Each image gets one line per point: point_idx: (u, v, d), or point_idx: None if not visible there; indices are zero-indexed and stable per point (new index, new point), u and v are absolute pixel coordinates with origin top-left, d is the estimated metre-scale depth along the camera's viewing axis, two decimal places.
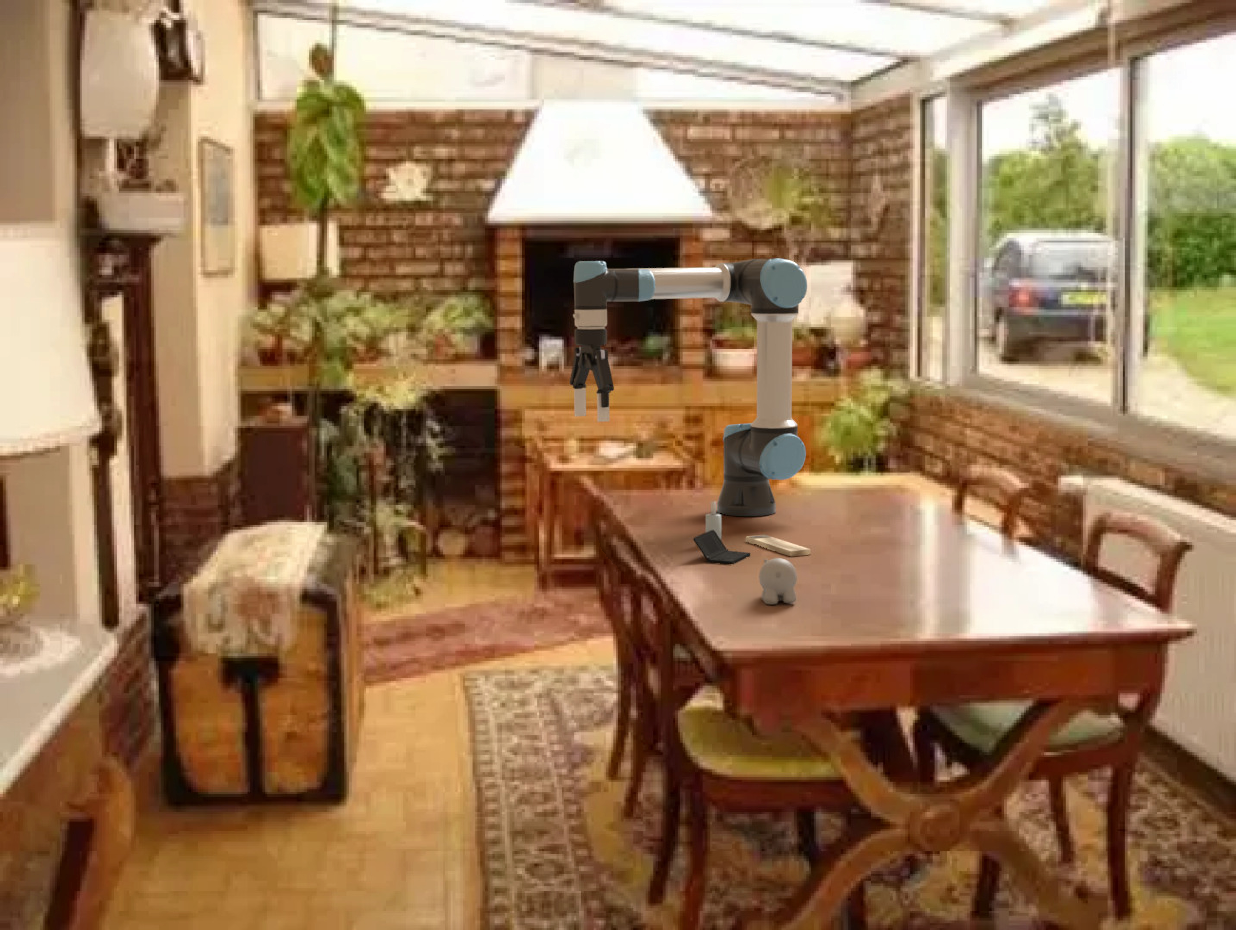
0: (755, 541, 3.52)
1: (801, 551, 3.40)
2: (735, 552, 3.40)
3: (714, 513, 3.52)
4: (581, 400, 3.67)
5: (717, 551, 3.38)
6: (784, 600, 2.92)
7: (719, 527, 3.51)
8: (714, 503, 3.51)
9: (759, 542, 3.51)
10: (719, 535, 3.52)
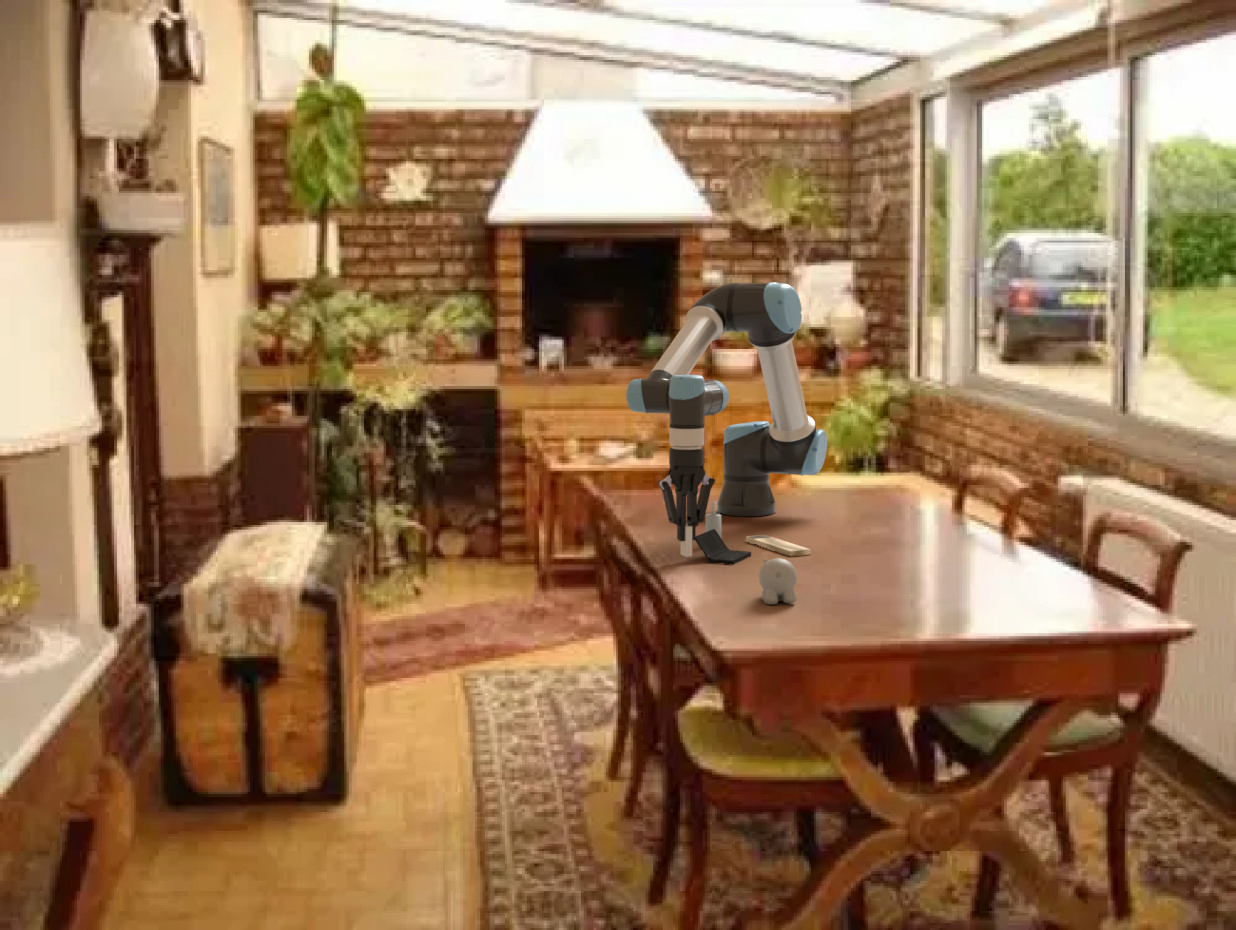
0: (755, 541, 3.52)
1: (801, 551, 3.40)
2: (736, 551, 3.40)
3: (714, 513, 3.51)
4: None
5: (718, 550, 3.38)
6: (784, 600, 2.92)
7: (719, 527, 3.51)
8: (714, 503, 3.51)
9: (759, 542, 3.51)
10: (719, 535, 3.52)
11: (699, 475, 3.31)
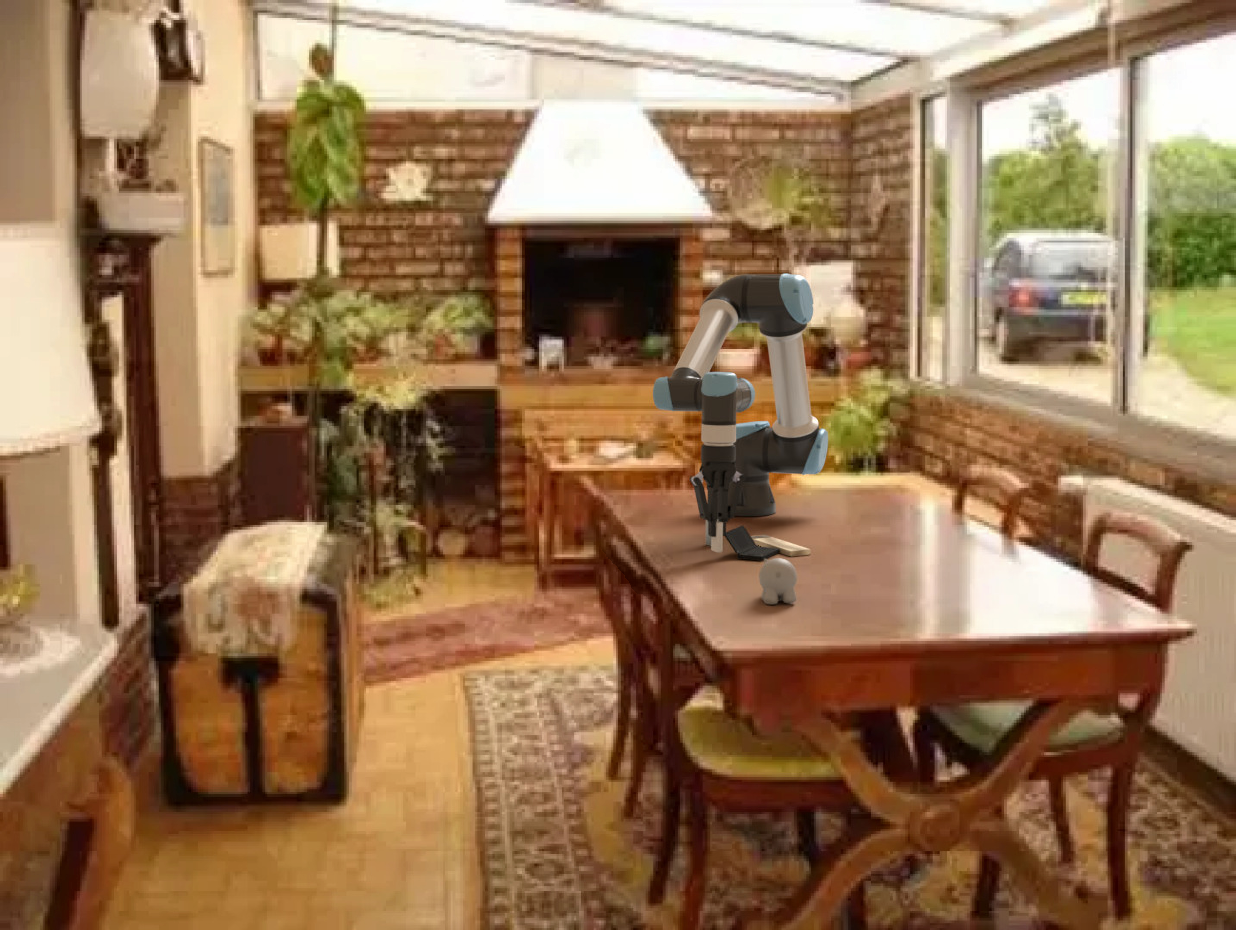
0: (755, 541, 3.52)
1: (801, 551, 3.40)
2: (764, 548, 3.43)
3: None
4: None
5: (747, 546, 3.42)
6: (784, 600, 2.92)
7: None
8: None
9: (759, 542, 3.51)
10: None
11: (730, 471, 3.34)
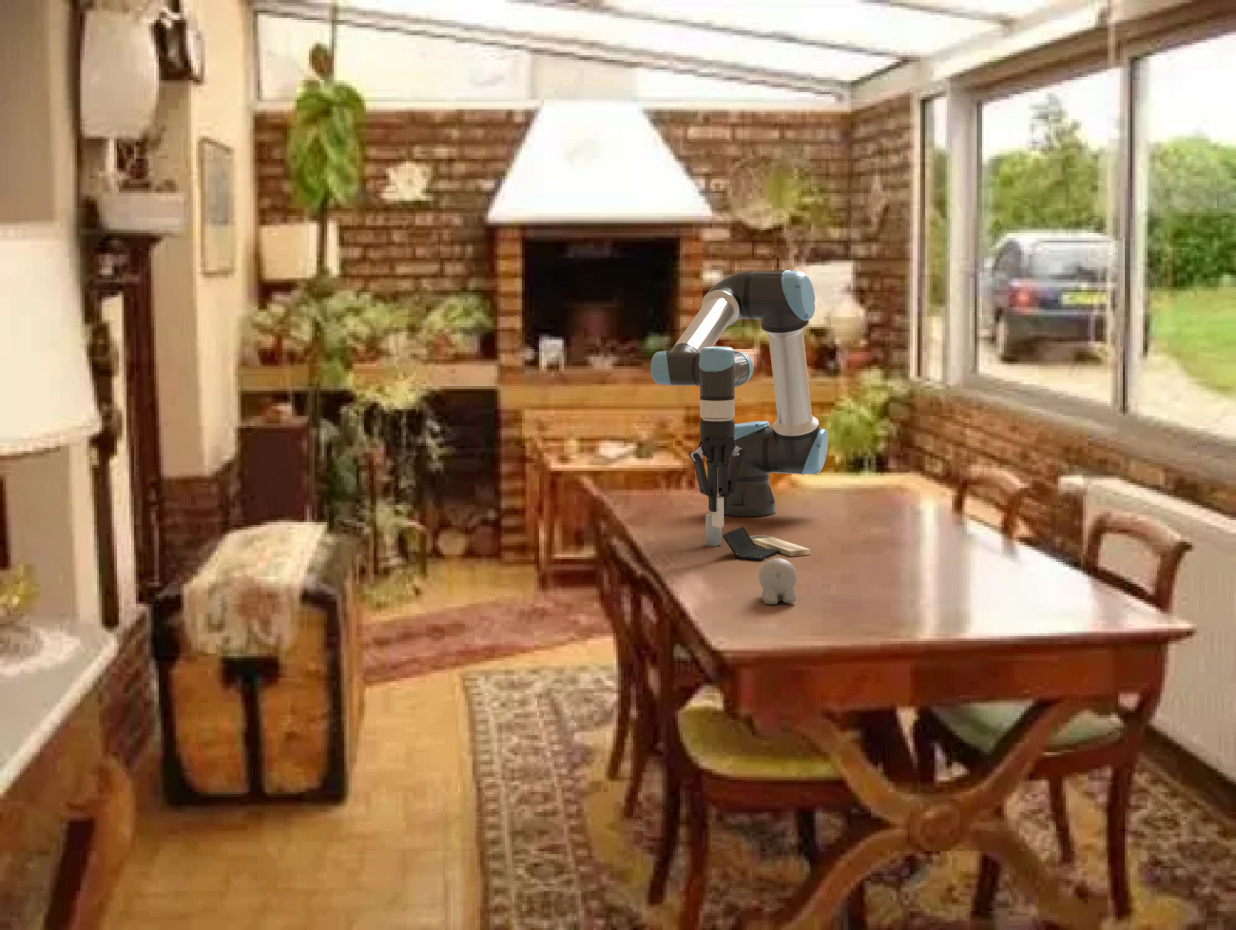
0: (755, 541, 3.52)
1: (801, 551, 3.40)
2: (764, 549, 3.43)
3: None
4: None
5: (746, 548, 3.42)
6: (784, 600, 2.92)
7: (719, 527, 3.51)
8: None
9: (759, 542, 3.51)
10: (719, 535, 3.52)
11: (730, 446, 3.33)
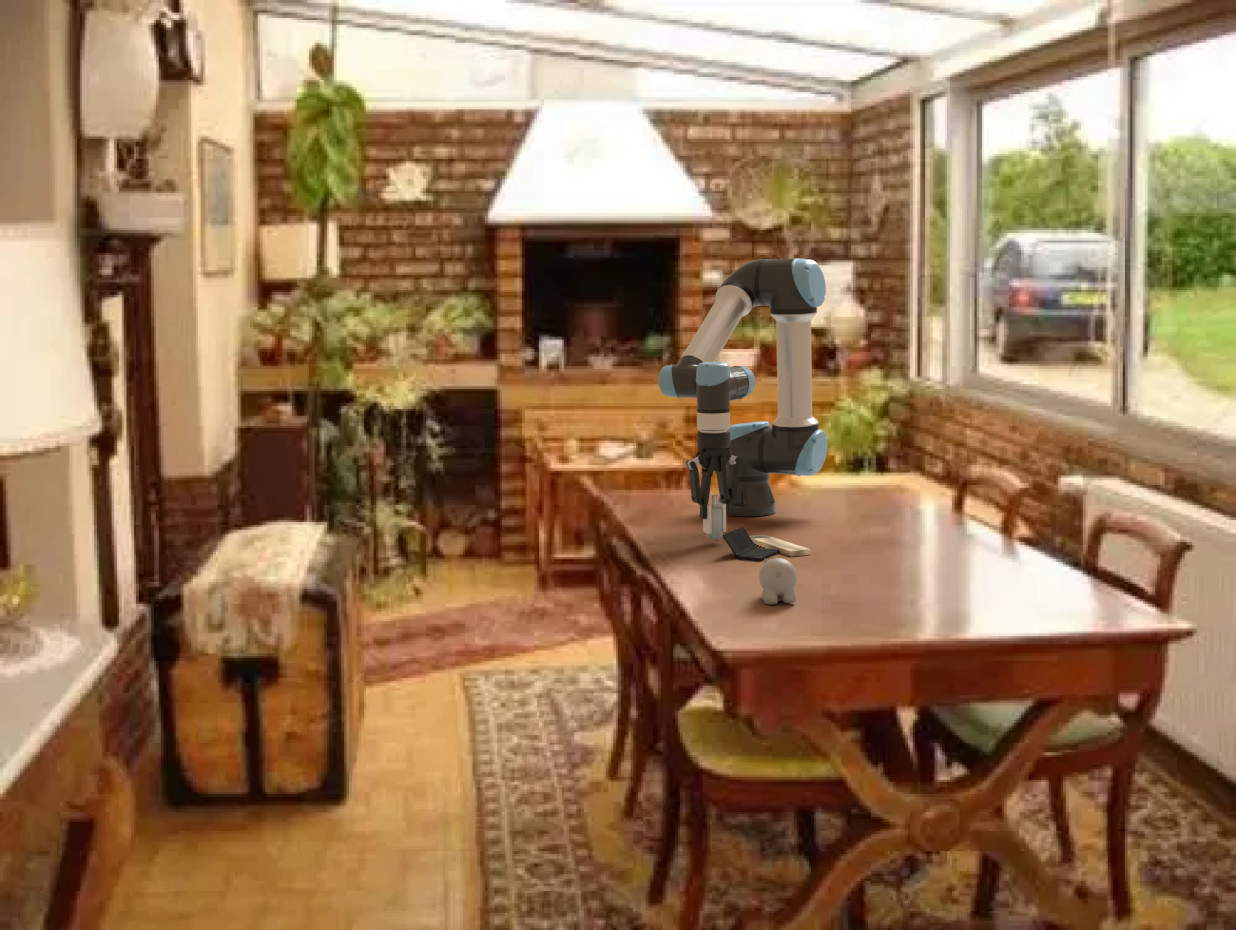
0: (755, 541, 3.52)
1: (801, 551, 3.40)
2: (764, 549, 3.43)
3: (715, 506, 3.52)
4: None
5: (746, 548, 3.42)
6: (784, 600, 2.92)
7: (720, 520, 3.52)
8: (715, 496, 3.51)
9: (759, 542, 3.51)
10: (720, 528, 3.52)
11: (726, 457, 3.51)
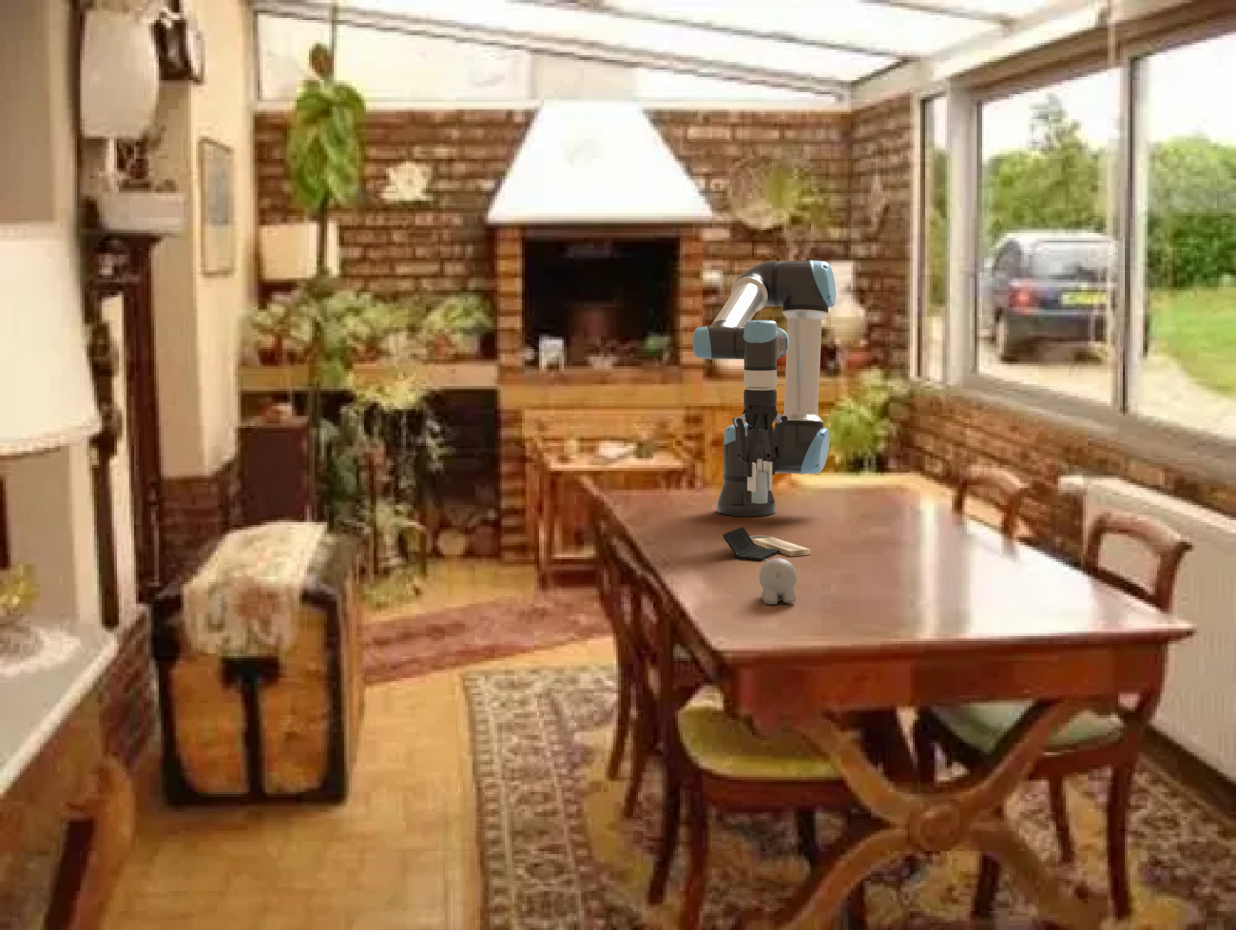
0: (755, 541, 3.52)
1: (801, 551, 3.40)
2: (764, 549, 3.43)
3: (760, 470, 3.53)
4: None
5: (746, 548, 3.42)
6: (784, 600, 2.92)
7: (765, 484, 3.53)
8: (760, 460, 3.53)
9: (759, 542, 3.51)
10: (765, 492, 3.53)
11: (772, 415, 3.52)
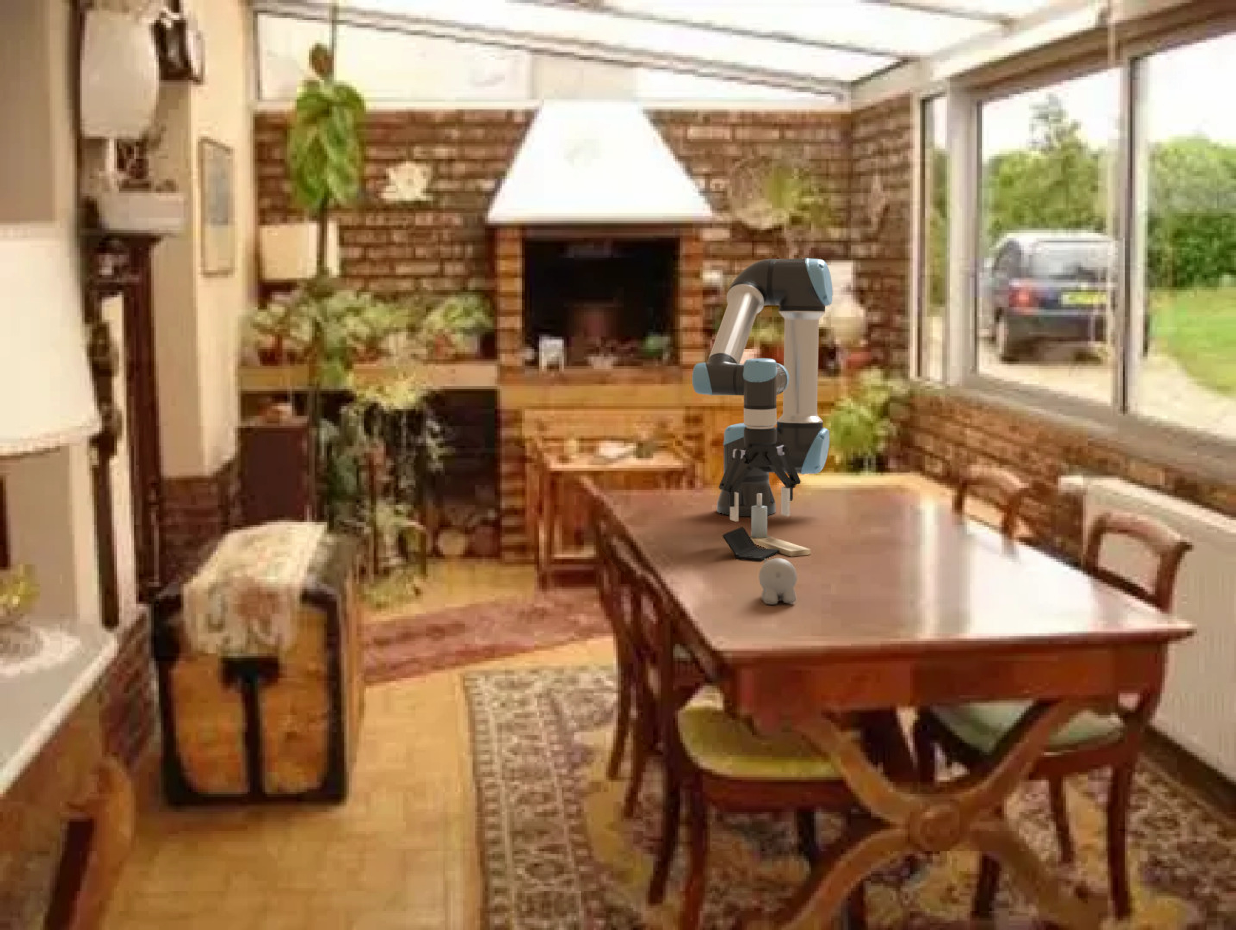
0: (755, 541, 3.52)
1: (801, 551, 3.40)
2: (764, 549, 3.43)
3: (760, 505, 3.54)
4: (784, 499, 3.57)
5: (746, 548, 3.42)
6: (784, 600, 2.92)
7: (765, 519, 3.54)
8: (760, 495, 3.54)
9: (759, 542, 3.51)
10: (765, 527, 3.54)
11: (773, 453, 3.53)
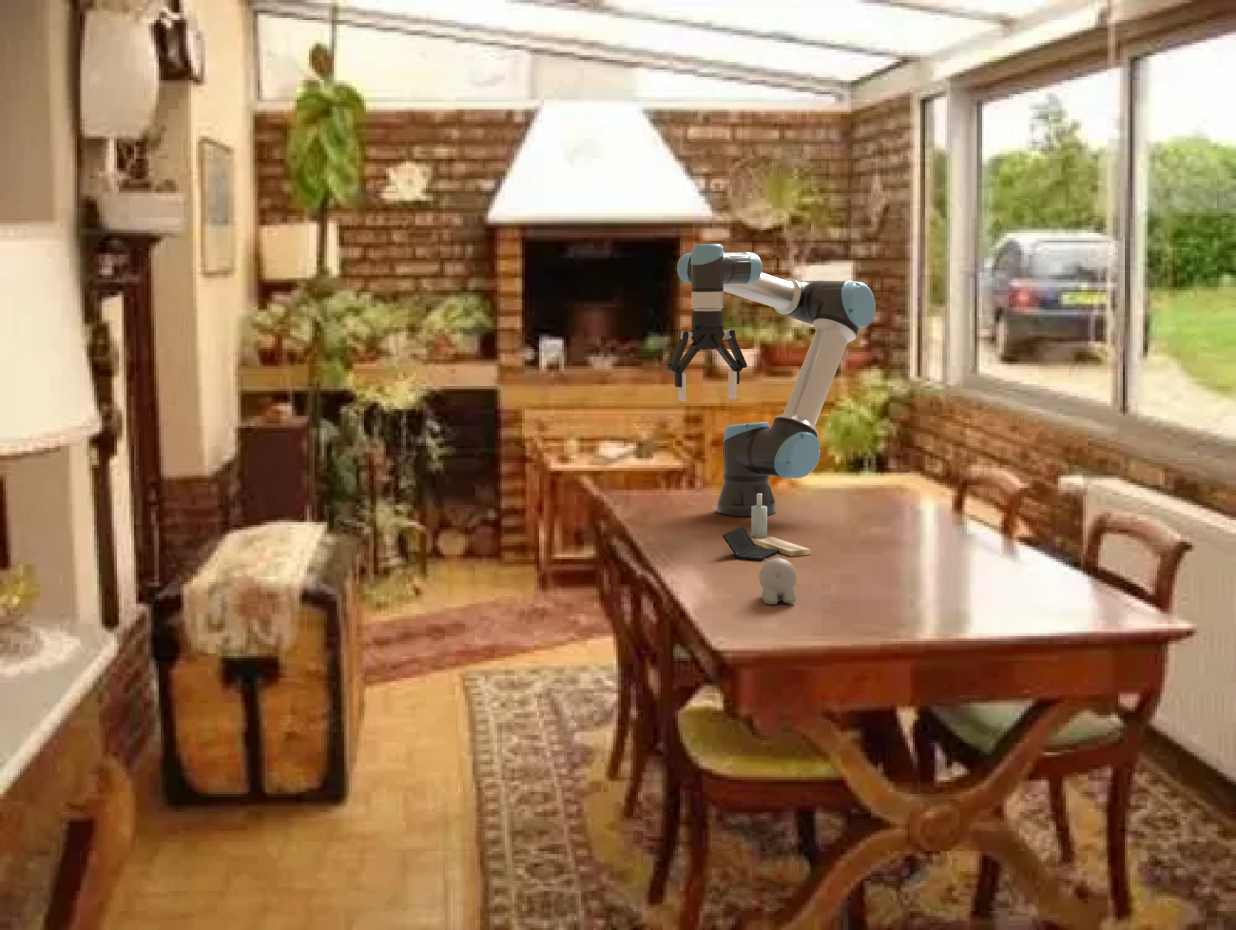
0: (755, 541, 3.52)
1: (801, 551, 3.40)
2: (764, 549, 3.43)
3: (760, 505, 3.54)
4: (731, 382, 3.68)
5: (746, 548, 3.42)
6: (784, 600, 2.92)
7: (765, 519, 3.54)
8: (760, 495, 3.54)
9: (759, 542, 3.51)
10: (765, 527, 3.54)
11: (720, 336, 3.64)
